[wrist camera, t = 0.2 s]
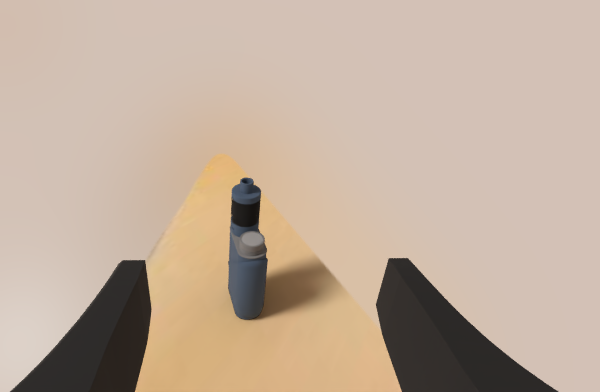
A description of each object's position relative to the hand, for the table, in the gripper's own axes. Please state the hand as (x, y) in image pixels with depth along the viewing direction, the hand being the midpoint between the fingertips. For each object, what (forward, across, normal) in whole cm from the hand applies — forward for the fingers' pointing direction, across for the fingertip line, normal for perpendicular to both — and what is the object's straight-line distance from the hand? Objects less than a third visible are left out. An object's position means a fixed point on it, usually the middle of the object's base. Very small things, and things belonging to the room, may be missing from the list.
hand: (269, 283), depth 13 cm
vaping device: (+19, 0, +22) cm, 29 cm away
